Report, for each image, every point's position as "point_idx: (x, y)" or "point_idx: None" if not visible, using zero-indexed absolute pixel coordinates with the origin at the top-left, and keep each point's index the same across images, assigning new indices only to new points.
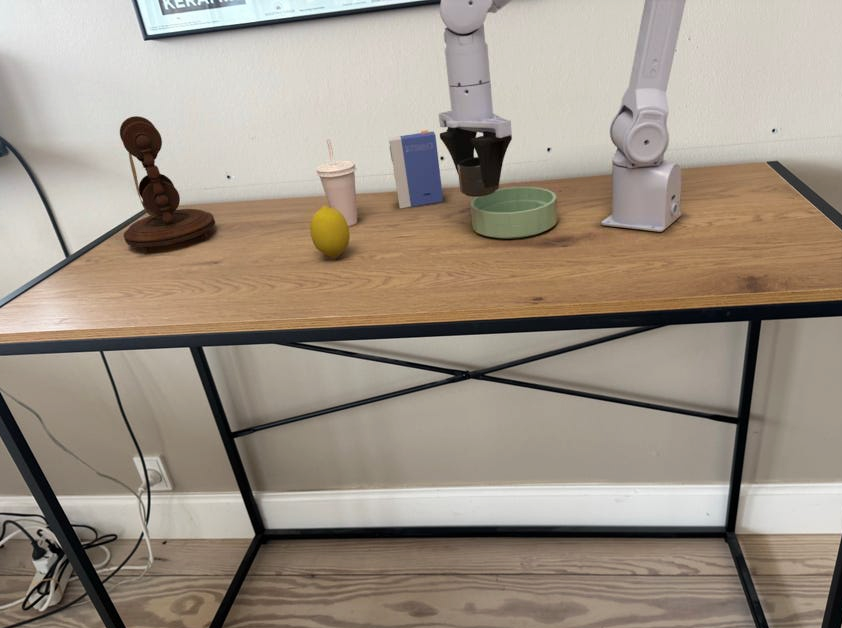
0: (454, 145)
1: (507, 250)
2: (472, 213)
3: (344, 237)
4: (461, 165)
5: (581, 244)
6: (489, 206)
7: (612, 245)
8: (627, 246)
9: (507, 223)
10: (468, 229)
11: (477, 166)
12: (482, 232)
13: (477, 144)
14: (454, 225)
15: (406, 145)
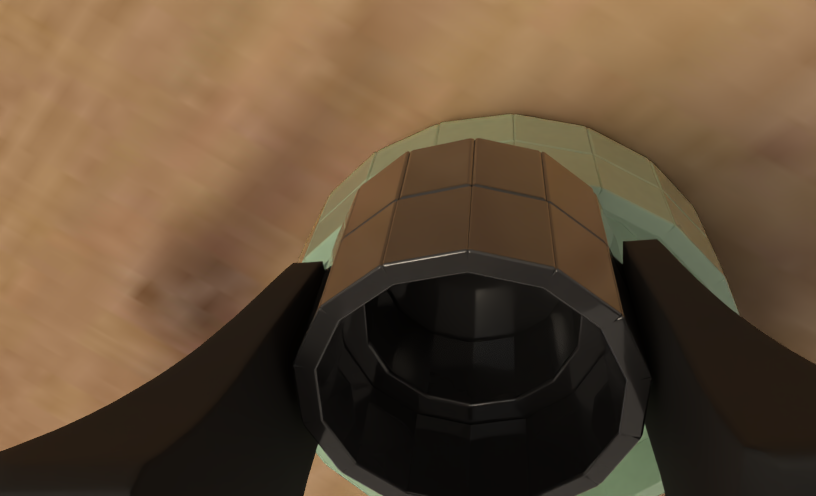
0: (706, 429)
1: (236, 111)
2: (576, 164)
3: None
4: (469, 268)
5: (129, 340)
6: None
7: (65, 393)
8: (33, 414)
9: (322, 221)
10: (653, 125)
11: (313, 331)
12: (466, 123)
13: (43, 458)
14: (783, 101)
15: None
